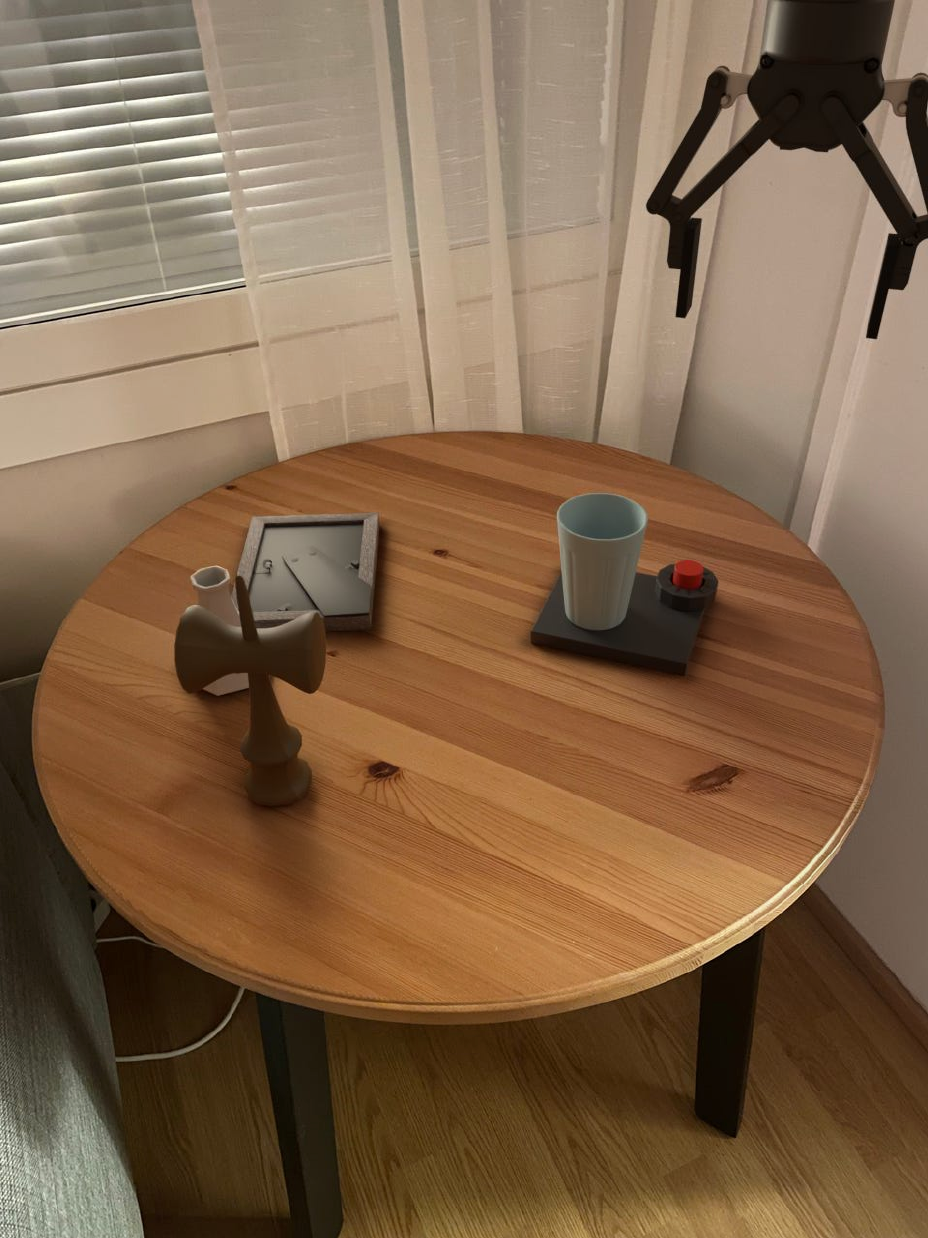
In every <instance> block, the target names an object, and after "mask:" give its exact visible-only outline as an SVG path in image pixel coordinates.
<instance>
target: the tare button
mask: <svg viewBox="0 0 928 1238" xmlns="http://www.w3.org/2000/svg"><path fill="white" fill-rule="evenodd" d="M674 564H675V567H674V575H673V584H674V585H675V586H676V587H678V588H680V589H685V590H694V589H698V588H699V587H700V586H701V583H702V576H703V567H704V566H703V565H702V564H701V563H700V562H699V561H696V560H693V559H682V560H678V561H677V562H676V563H674Z"/></svg>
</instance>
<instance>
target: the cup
mask: <svg viewBox="0 0 928 1238" xmlns="http://www.w3.org/2000/svg"><path fill="white" fill-rule="evenodd" d="M648 521H649V516H648V513H647V511H646V509H645V508H644V507H643V506H642V505H641V504H639V503H638V502H637V501H635V500H633V499H632V498H629V497H627V496H623V495H619V494H615V493H610V492H609V493H608V492H590V493H585V494H584V493H583V494H581V495H580V494H579V495H576V496H573V497H571V498H569V499H567V500H565V502H563V503H562V504H561V505H560V506H559V507H558V509H557V512H556V522H557V534H558V543H559V544H558V546H559V554H560V555H559V556H560V568H561V571H562V580H563V592H564V603H565V612H566V615H567V617H568V619H569V620H570V621H571V622H572V623H574V624H575V625H577V626H579V627H581V628H584V629H588V630H607V629H611V628H613V627H616V626H617V625H619V624H620V623H621V622H622V621H623V620H624V618H625V616H626V612H627V608H628V604H629V600H630V595H631V591H632V587H633V582H634V578H635V574H636V572H637V569H638V564H639V560H640V556H641V552H642V548H643V543H644V539H645V536H646V535H645V534H646V530H647V527H648Z"/></svg>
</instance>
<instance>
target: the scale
mask: <svg viewBox="0 0 928 1238" xmlns="http://www.w3.org/2000/svg"><path fill="white" fill-rule="evenodd" d="M675 564H676V563H671V564H668V565H666V566H664V567H663V568H661V569H659V570H658V573H657V575H652V574H646V573H643V572H637V571H636V574H635V578H634V582H633V587H632V591H631V595H630V600H629V604H628V608H627V612H626V616H625V618H624V620H623V621H622V622H621V623H620V624H619V625H617V626H616V627H613V628H611V629H607V630H588V629H584V628H581V627H579V626H577V625H575V624H574V623H572V622H571V621H570V620H569V619H568V617H567V615H566V612H565V603H564V592H563V580H562V570H561V571H560V572H559V575H558V577H557V579H556V580H555V583H554V585H553V586H552V589H551V591H550V592H549V594H548V596H547V598H546V600H545V603H544V604H543V606H542V608H541V610H540V611H539V614H538V616H537V618H536V620H535V622H534V624H533V626H532V628H531V630H530V644H534V645H540V646H543V647H548V648H554V649H558V650H561V651H562V650H563V651H567V652H573V653H576V654H581V655H585V656H591V657H595V658H601V659H605V660H609V661H615V662H619V663H624V664H629V665H633V666H638V667H642V668H648V669H652V670H657V671H662V672H666V673H671V674H675V675H680V676H686V674H687V671H688V668H689V665H690V661H691V658H692V655H693V651H694V649H695V644H696V641H697V638H698V634H699V632H700V628H701V625H702V621H703V618H704V615H705V611H706V610H707V608H709V607H710V606H712V605H714V604H715V602H716V598H717V593H718V587H719V579H718V578H717V576H716V574H715V573H714V572H713V571H712V570H710V569H708V568H707V567H705V566H703V576H702V583H701V586H700V587H699V588H698V589H694V590H685V589H680V588H678V587H676V586H675V585H674V584H673V575H674V567H675Z"/></svg>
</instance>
